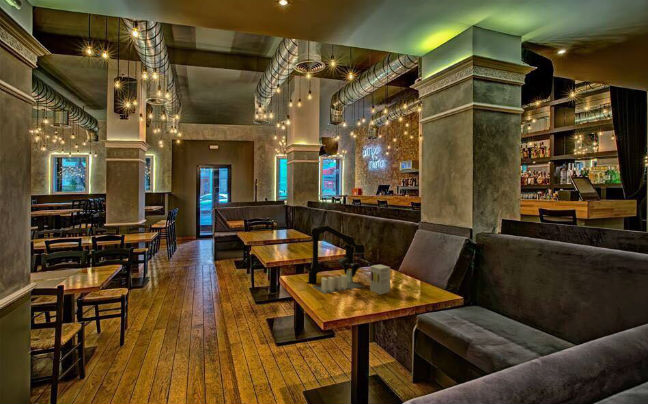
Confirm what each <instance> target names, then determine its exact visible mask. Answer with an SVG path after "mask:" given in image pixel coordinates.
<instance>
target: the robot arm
mask: <svg viewBox="0 0 648 404" xmlns="http://www.w3.org/2000/svg"><path fill="white" fill-rule="evenodd" d="M310 232H311V237H312V261H311V265H310V268H309V269H308V271H307V273H308V274H307V275H308V281H306V284H308V285H315V284H319V282H317V281H318V279H317V275H318V273H319V272H320V271H321V261H319V239H320V234H323V233H325V232H328V233H330V234H332V235H333V236H335V237H337V238H339V239H341V240H342V241H343V242H344V245H342V248H344V249H345V254H344V255H343V257H342V258H340V259H338V264H339V265H340V266H341V267H343V271H344V275H346V270H350V271H352V277H353V278H354V277H355V275H356V273H357V271H358V270H359V269H360V268H361V264H360V263H359V262H355V259H354V258H355V257H356V256H355V254H356V255H357V254H358V255H359V254H360V255H362V254H363V255H364V254H365V245H364V244H363V243H361V244H360V243H359V244H357V243H356V242H355V238H354V237H353V236H351V235H349V234H345V233H343V232H340V231H339V230H337V229H335V228H333V227H332V226H330V225H328V224H326V225H322V226H318V227H317V226H313V227H312V228H311V230H310ZM349 268H350V269H349Z"/></svg>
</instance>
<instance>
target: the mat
mask: <svg viewBox="0 0 648 404" xmlns="http://www.w3.org/2000/svg"><path fill="white" fill-rule="evenodd" d="M311 287H312V288H313V289H315V290H317V291H318V292H321V293H323V294H330V293H336V292H343V291H347V290H353V289H360V288H365V287H366V286H365V285H362V284H360V283H358V282H356V281H353V283H349V282H347V289H344V288H342V287H341V290H338V289H336V288H334V291H331V290H329V289H328V292H324V291H322V290H321V284H319V285H312V286H311Z"/></svg>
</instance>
